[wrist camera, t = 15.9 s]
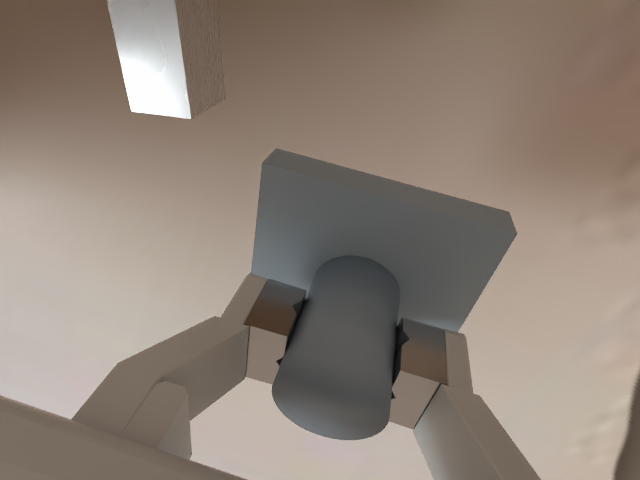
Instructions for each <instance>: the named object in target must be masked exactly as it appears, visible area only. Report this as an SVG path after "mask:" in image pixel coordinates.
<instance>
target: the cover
mask: <svg viewBox="0 0 640 480" xmlns="http://www.w3.org/2000/svg"><path fill="white" fill-rule="evenodd" d="M516 235H517V232H516V229H515V226H514V224H513V221H512V218H511V216H510V213H509V212H507V211H503V210H500V209H496V208H492V207H489V206H485V205H481V204H478V203H474V202H470V201H467V200H463V199H459V198H456V197H452V196H448V195H445V194H441V193H437V192H434V191H430V190H426V189H423V188H419V187H415V186H412V185H408V184H404V183H401V182H397V181H393V180H390V179H386V178H382V177H379V176H375V175H371V174H368V173H364V172H360V171H357V170H353V169H349V168H346V167H342V166H338V165H335V164H331V163H327V162H324V161H320V160H316V159H313V158H309V157H305V156H302V155H298V154H294V153H291V152H287V151H283V150H280V149H275V150H274V151H273V152H272V153H271V154H270V155H269V157H268V158H267V159H266V160H265V161H264V162H263V163H262V172H261V182H260V192H259V201H258V211H257V221H256V231H255V241H254V250H253V260H252V270H251V273H252V274H255V275H258V276H261V277H264V278H268V279H273V280H276V281H279V282H282V283H285V284H289V285H292V286H295V287H298V288H301V289H305V290H307V294H306V300H305V303H304V305H303V308H302V310H301V313H300V316H299V318H298V320H297V323H296V325H295V328H294V331H293V334H292V337H291V339H290V342H289V344H288V347H287V349H286V352H285V355H284V357H283V359H282V361H281V364H280V367H279V369H278V372H277V374H276V377H275V380H274V382H273V386H272V396H273V399H274V401H275V403H276V405H277V407H278V408H279V410H280V411H281V412H282V413H283V414H284V415H285V416H286V417H287V418H288V419H290V420H291V421H292V422H294V423H295V424H297V425H298V426H300V427H302V428H304V429H306V430H308V431H310V432H312V433H315V434H318V435H321V436H324V437H328V438H333V439H340V440H359V439H364V438H368V437H372V436H374V435H376V434H378V433H379V432H381V431H382V430H383V429H384V428H385V427H386V425H387V424H388V422H389V418H390V408H391V396H392V384H393V372H394V360H395V348H396V336H397V325H398V323H399V321H400V319H401V318H402V317H403V318H406V319H410V320H414V321H417V322H421V323H424V324H428V325H432V326H435V327H439V328H442V329H447V330H450V331H454V332H458V331H459V329H460V328H461V326H462V324H463V323H464V321H465V319H466V318H467V316H468V314H469V313H470V311H471V309H472V308H473V306H474V305H475V303H476V301H477V300H478V298H479V296H480V295H481V293H482V291H483V290H484V288H485V286H486V285H487V283H488V281H489V280H490V278H491V276H492V275H493V273H494V271H495V270H496V268H497V266H498V265H499V263H500V261H501V260H502V258H503V256H504V255H505V253H506V251H507V250H508V248H509V246H510V245H511V243H512V242H513V240H514V238H515V237H516Z"/></svg>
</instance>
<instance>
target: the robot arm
mask: <svg viewBox="0 0 640 480" xmlns="http://www.w3.org/2000/svg"><path fill="white" fill-rule="evenodd" d="M306 294H307V290H305V289H301V288H298V287H295V286H292V285H289V284H285V283H282V282H279V281H276V280H273V279H268V278H264V277H261V276H258V275H255V274H252V273H250V274H249V275H247V276H246V278H245V279H244V281H243V282H242V284H241V286H240V287H239V289H238V290H237V292H236V294H235V295H234V297H233V298H232V300H231V302H230V303H229V305H228V306H227V308H226V310H225V311H224V313H223V314H222V316H221V318H220V317H216V316H214V317H212V318H210V319H208V320H206V321H204V322H202V323H199V324H197V325H195V326H193V327H191V328H189V329H187V330H185V331H183V332H181V333H179V334H177V335H175V336H173V337H171V338H169V339H167V340H164V341H162V342H160V343H158V344H156V345H154V346H152V347H150V348H148V349H146V350H144V351H142V352H140V353H138V354H136V355H134V356H132V357H130V358H127V359H125V360H123V361H121V362H119V363H118V364H117V365H116V366H115V367H114V368H113V370H112V371H111V372H110V373H109V374H108V376H107V377H106V378H105V379H104V380H103V382H102V383H101V384H100V385H99V387H98V388H97V389H96V390H95V391H94V393H93V394H92V395H91V396H90V397H89V399H88V400H87V401H86V402H85V403H84V405H83V406H82V407H81V408H80V410H79V411H78V412H77V413H76V414H75V416H74V417H73V418H72V419H68V418H65V417H62V416H59V415H56V414H53V413H50V412H47V411H45V410H42V409H39V408H36V407H33V406H30V405H27V404H24V403H21V402H18V401H15V400H12V399H9V398H6V397H3V396H0V480H247V479H244V478H241V477H238V476H235V475H233V474H230V473H227V472H224V471H221V470H218V469H215V468H212V467H209V466H206V465H203V464H200V463H197V462H194V461H191V460H189V459H190V457H191V455H192V449H191V434H190V420H192V419H193V418H194V417H196V416H197V415H198V414H200V413H201V412H202V411H203V410H205V409H206V408H207V407H209V406H210V405H211V404H213V403H214V402H215V401H217V400H218V399H219V398H220V397H222V396H223V395H224V394H226V393H227V392H228V391H230V390H231V389H232V388H234V387H235V386H236V385H237V384H239V383H240V382H241V381H243V380H244V379H245V377H248V378H252V379H255V380H259V381H262V382H266V383H269V384H273V382H274V380H275V377H276V374H277V372H278V369H279V367H280V364H281V361H282V359H283V357H284V355H285V352H286V349H287V347H288V344H289V342H290V339H291V337H292V334H293V331H294V328H295V325H296V323H297V320H298V318H299V316H300V313H301V310H302V308H303V305H304V303H305V300H306ZM389 421H390V422H393V423H396V424H399V425H402V426H405V427H408V428H411V429H414V430H413V432H414V435H415V437H416V439H417V442H418V444H419V446H420V448H421V451H422V453H423V455H424V458H425V460H426V462H427V464H428V467H429V469H430V471H431V474H432V476H433V478H434V480H541V479H540V478H539V476H538V475H537V474H536V472H535V471H534V469H533V468H532V467H531V465H530V464H529V463H528V461H527V460H526V458H525V457H524V456H523V454H522V453H521V452H520V450H519V449H518V447H517V446H516V445H515V443H514V442H513V441H512V439H511V438H510V436H509V435H508V434H507V432H506V431H505V430H504V428H503V427H502V425H501V424H500V423H499V421H498V420H497V419H496V417H495V416H494V414H493V413H492V412H491V410H490V409H489V408H488V406H487V405H486V404H485V402H484V401H483V399H482V398H481V397H480V396H479V395H476V394H473V387H472V379H471V371H470V364H469V356H468V348H467V340H466V337H465V335H464V334H461V333H458V332H454V331H450V330H447V329H442V328H439V327H435V326H432V325H428V324H424V323H421V322H417V321H414V320H410V319H406V318H403V317H402V318H401V319H400V321H399V323H398V325H397V336H396V348H395V360H394V372H393V384H392V396H391V408H390V418H389Z"/></svg>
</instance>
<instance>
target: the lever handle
mask: <svg viewBox="0 0 640 480" xmlns="http://www.w3.org/2000/svg"><path fill="white" fill-rule="evenodd" d="M106 1H107V6H108V10H109V14H110V19H111V23H112V28H113V32H114V37H115V41H116V45H117V50H118V54H119V59H120V63H121V68H122V72H123V76H124V81H125V85H126V90H127V94H128V98H129V103H130V107H131V111H132V112H139V113H147V114H155V115H163V116H171V117H179V118H186V119H192V118H194V117H196V116H198V115H199V114H201V113H203V112H204V111H206V110H208V109H210V108H211V107H213V106H215V105H217V104H218V103H220V102H222V101H223V100H225V90H224V79H223V67H222V55H221V44H220V32H219V20H218V9H217V0H106Z"/></svg>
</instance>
